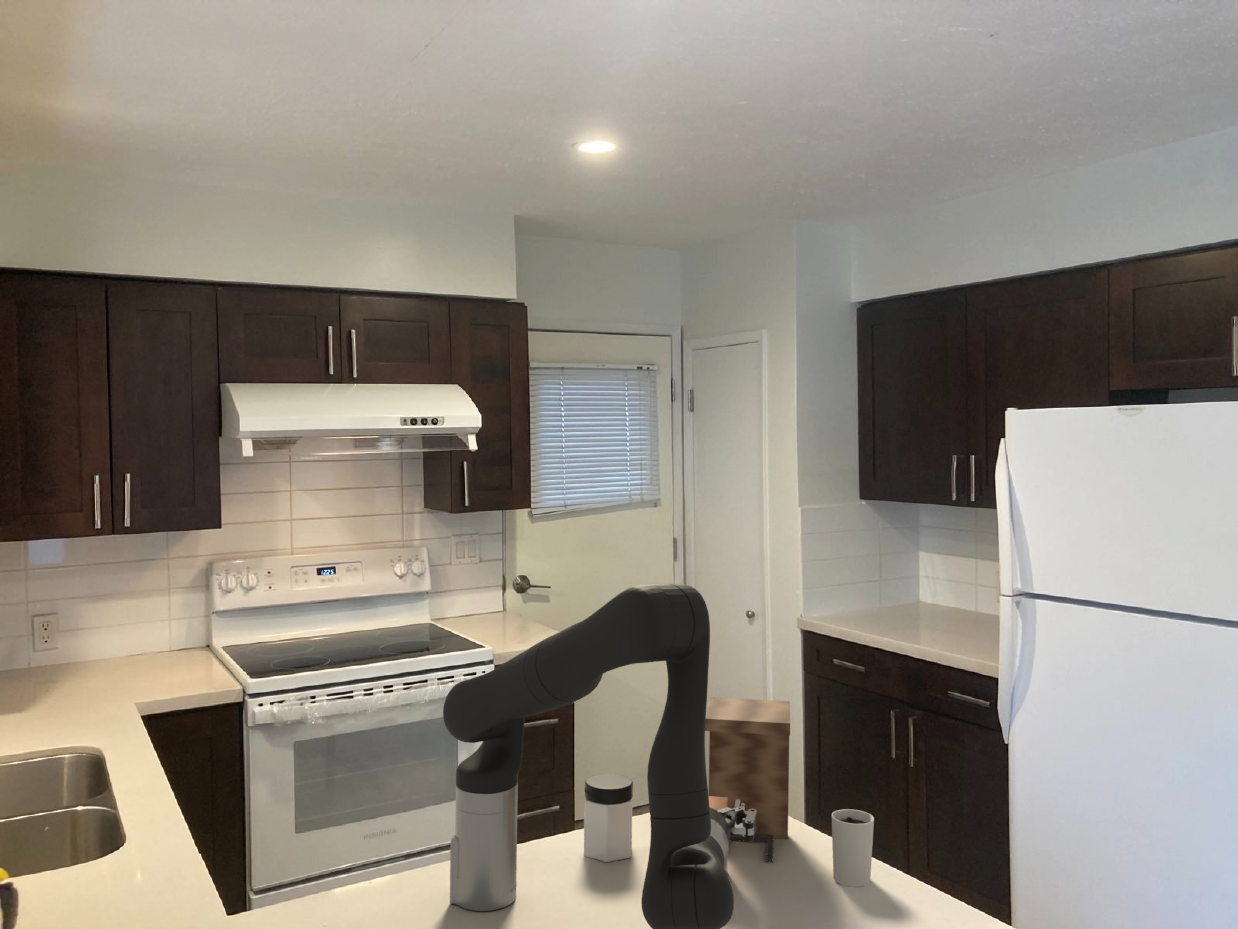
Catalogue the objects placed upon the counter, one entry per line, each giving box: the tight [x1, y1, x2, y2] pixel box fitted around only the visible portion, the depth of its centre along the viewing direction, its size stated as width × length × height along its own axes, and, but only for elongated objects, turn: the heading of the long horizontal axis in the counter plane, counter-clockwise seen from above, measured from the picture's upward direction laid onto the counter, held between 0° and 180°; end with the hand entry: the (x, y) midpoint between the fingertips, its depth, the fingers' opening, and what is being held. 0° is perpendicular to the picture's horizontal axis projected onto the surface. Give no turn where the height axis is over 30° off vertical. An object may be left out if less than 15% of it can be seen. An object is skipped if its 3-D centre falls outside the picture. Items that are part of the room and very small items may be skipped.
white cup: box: [831, 808, 875, 888], centre depth 157 cm, size 7×7×10 cm
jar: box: [583, 773, 634, 863], centre depth 166 cm, size 9×8×12 cm
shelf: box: [705, 696, 791, 864], centre depth 169 cm, size 14×16×24 cm
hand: (708, 804), depth 145 cm, fingers open, 8 cm apart
